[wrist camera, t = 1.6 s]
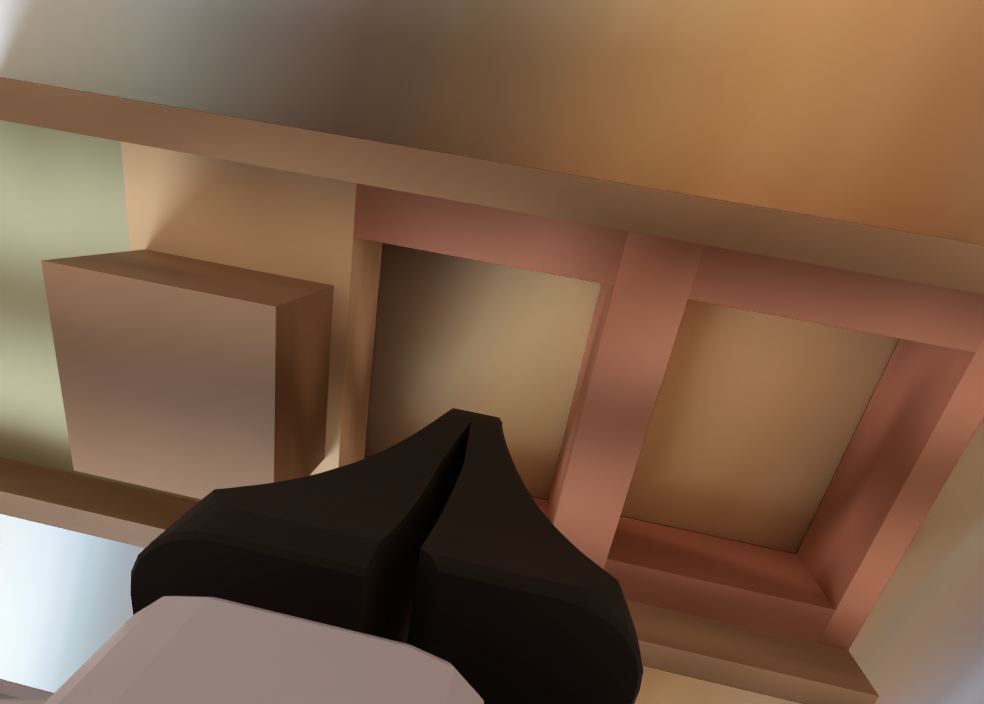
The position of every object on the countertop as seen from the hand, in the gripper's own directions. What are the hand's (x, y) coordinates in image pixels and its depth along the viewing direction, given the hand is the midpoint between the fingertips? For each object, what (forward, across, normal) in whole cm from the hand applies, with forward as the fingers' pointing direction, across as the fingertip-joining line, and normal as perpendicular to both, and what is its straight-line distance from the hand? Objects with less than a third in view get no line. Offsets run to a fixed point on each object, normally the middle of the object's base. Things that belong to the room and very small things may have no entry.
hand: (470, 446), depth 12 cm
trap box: (+5, +2, 0) cm, 6 cm away
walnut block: (+2, +8, 0) cm, 8 cm away
